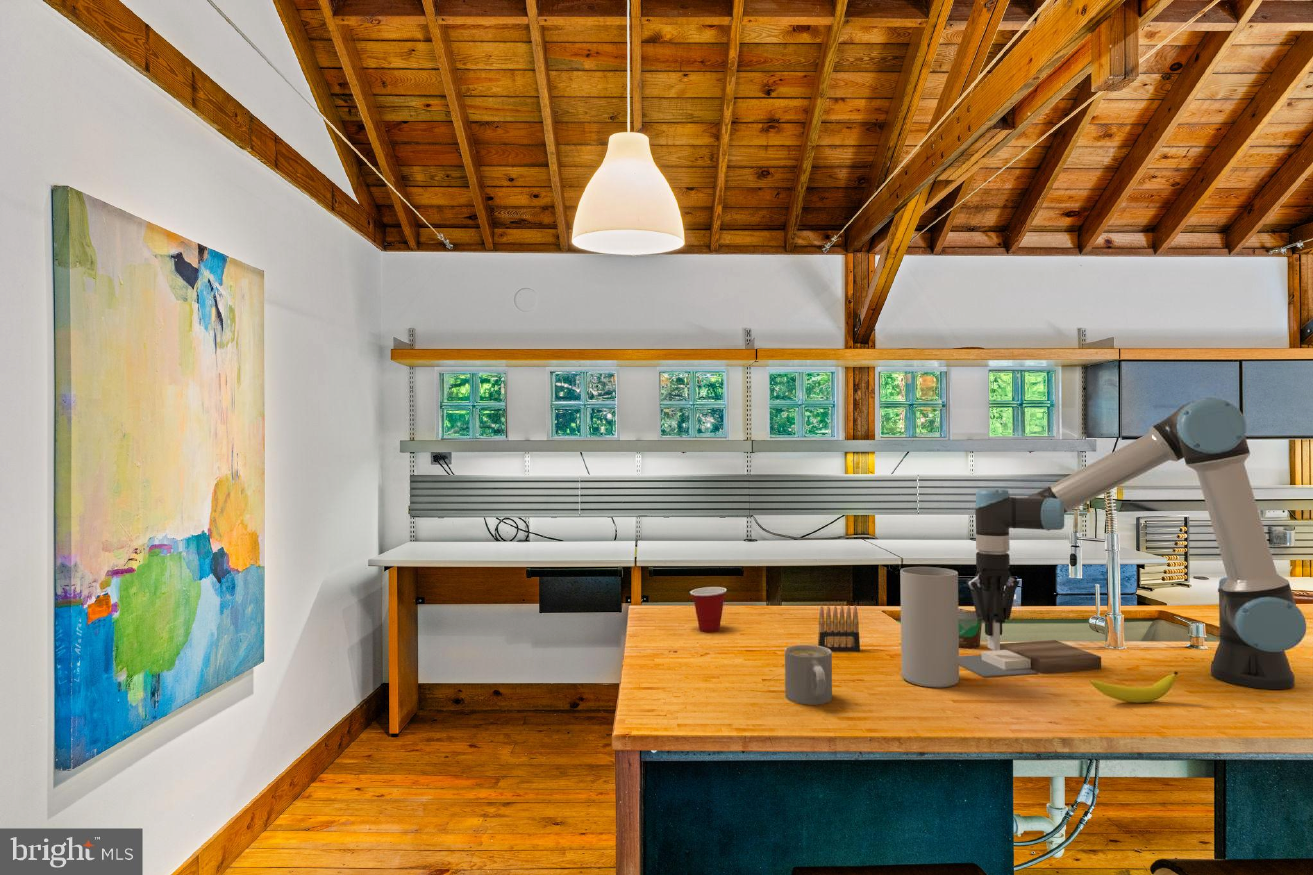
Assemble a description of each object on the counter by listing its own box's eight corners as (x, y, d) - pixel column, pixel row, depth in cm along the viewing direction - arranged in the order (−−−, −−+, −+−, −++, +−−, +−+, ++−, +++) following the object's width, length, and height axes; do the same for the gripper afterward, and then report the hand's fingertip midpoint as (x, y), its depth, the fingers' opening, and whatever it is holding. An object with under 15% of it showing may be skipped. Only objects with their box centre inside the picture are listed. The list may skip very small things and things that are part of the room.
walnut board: (1101, 669, 185) (1101, 656, 185) (1041, 673, 182) (1041, 660, 182) (1055, 651, 200) (1055, 640, 200) (999, 655, 197) (999, 643, 197)
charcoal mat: (1037, 673, 181) (1037, 672, 181) (983, 677, 179) (983, 675, 179) (996, 655, 197) (996, 653, 197) (945, 658, 195) (945, 657, 195)
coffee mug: (782, 689, 172) (782, 644, 172) (828, 689, 171) (827, 644, 171) (790, 710, 159) (789, 661, 159) (838, 710, 158) (838, 661, 158)
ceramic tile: (1030, 667, 185) (1030, 659, 185) (1004, 669, 184) (1004, 661, 184) (1006, 657, 194) (1006, 649, 194) (981, 659, 192) (981, 651, 192)
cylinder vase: (922, 690, 170) (921, 577, 170) (890, 674, 182) (889, 568, 182) (971, 685, 173) (969, 574, 173) (936, 670, 185) (935, 565, 185)
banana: (1085, 701, 162) (1085, 671, 162) (1172, 699, 163) (1172, 669, 163) (1094, 706, 159) (1093, 675, 159) (1182, 704, 160) (1182, 673, 160)
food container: (933, 646, 206) (933, 609, 207) (937, 641, 212) (936, 604, 212) (983, 651, 201) (983, 613, 201) (985, 646, 206) (985, 608, 206)
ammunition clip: (858, 649, 204) (858, 604, 204) (860, 651, 202) (859, 605, 202) (817, 649, 204) (817, 604, 205) (819, 651, 203) (818, 605, 203)
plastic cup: (689, 625, 232) (689, 585, 232) (725, 625, 232) (725, 585, 232) (690, 634, 221) (690, 592, 222) (728, 634, 221) (728, 592, 221)
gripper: (1006, 548, 193) (1008, 643, 193) (959, 550, 191) (960, 646, 191) (1026, 553, 186) (1027, 651, 186) (977, 554, 184) (978, 654, 183)
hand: (993, 648), depth 188 cm, fingers closed
